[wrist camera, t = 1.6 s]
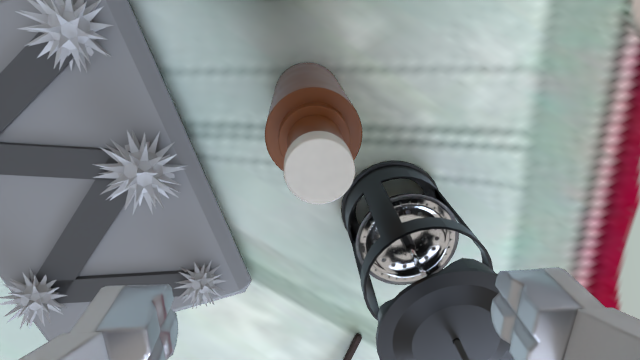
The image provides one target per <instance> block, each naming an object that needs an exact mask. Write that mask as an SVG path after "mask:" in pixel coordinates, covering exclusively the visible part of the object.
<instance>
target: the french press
mask: <svg viewBox="0 0 640 360" xmlns="http://www.w3.org/2000/svg"><path fill="white" fill-rule="evenodd" d="M399 178H406V179H411V180H413V181H414V182H416V183H417V184H418V185H419V186H420V187H421V188H422V189H423V191H424V193H425V196H424V195H420V194H401V195H396V196H392V197H389V196H388V195H387V193H386V191H385V189H384V187H383V185H382V182H385V181H388V180H392V179H399ZM363 195H364V196H365V198H366V201H367V204H368V206H369V209H370V211H369V212H368V214H367V215H366V216H365V218H364V220H363V221H362V223H361V226H359V224H358V222H357V219H356V213H355V211H356V204H357V202H358V201H359V200H360V198H361V197H362V196H363ZM341 212H342V220H343V222H344V225H345V228H346V230H347V231H348V234H349V237H350V240H351V243H352V247H353V251H354V255H355V259H356V263H357V267H358V271H359V275H360V279H361V287H362V291H363V295H364V299H365V302H366V305H367V307H368V309H369V311H370V312H371V314H372V315H373V317H374V318H375V319H377V320H378V327H377V333H376V346H377V352H378V355H379V358H380V360H514V358H513V357H512V355H511V354H510V352H509V350H510V345H511V344H509V343H508V342H506V341H505V340H503V339H501V338H500V337H499V335H498V333H497V332H496V330H495V328H494V325H493V323H492V317H491V305H492V299H493V298H494V297H495V296H496V295H497V294H498V293H499V290H498V289H497V287H496V286H495V283H496V278H497V275H498V274H496V273H495V272H494V271H493V266H492V261H491V258H490V256H489V254H488V252H487V250H486V249H485V247H484V246H483V245H482V244H481V242H480V241H479V240H478V239H477V237H476V236H475V235H474V234H473V233H472V231H471V230H470V229H469V228H468V226H467V225H466V224H465V223H464V221H463V220H462V219H461V218H460V216H459V215H458V214H457V213H456V212H455V210H454V209H453V208H452V207H451V205H450V204H449V203H448V202H447V200H446V199H445V198H444V197H443V195H442V194H441V193H440V192H439V191H438V188H437V186H436V184H435V182H434V180H433V179H432V178H431V177H430V176H429V174H428V173H427V172H425V171H424V170H423V169H421V168H420V167H418V166H416V165H414V164H411V163H407V162H403V161H388V162H382V163H379V164H376V165H373V166H371V167H369V168H367V169H365V170H364V171H362V172H361V173H360V174H359V175H357V176H356V177H355V178H354V180H353V182H352V185H351V186H350V188H349V189H348V191H347V192H346V193H345V194H344V197H343V200H342V208H341ZM455 218H456V219H455ZM456 220H457V221H458V222H459V223H460V224H459V223H457V221H456ZM459 233H461V234H463V235H466V236H468V237H470V238H471V239H472V240H473V241H474V243H475V244H476V245H477V246H478V248H479V249H480V251H481V255H482V263H481V262H479V261H476V260H474V259H466V258H462V259H459V260H457V261H455V262H453V263H451V264H450V265H448V266H447V267H446V268H444V267H445V266H446V265H447V264H448V262H449V261H450V259H451V258H452V256H453V255H454V252H455V250H456V248H457V244H458V239H459ZM443 268H444V269H443ZM369 274H370V275H372V276H373V277H375V278H376V279H378V280H380V281H383V282H385V283H390V284H395V285H406V284H411V285H409V286H408V287H407V288H405V289H404V290H402V291H401V292H400V293H399V294H398V295H397V296H396V297H395V298H394V299H392V300H390V301H387V302H385V303H384V304H383V305H382V306H380V308H379V307H378V303H377V300H376V296H375V293H374V289H373V286H372V282H371V279H370V275H369Z"/></svg>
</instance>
